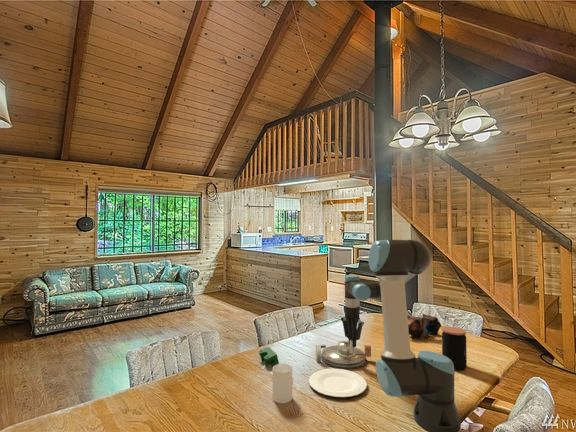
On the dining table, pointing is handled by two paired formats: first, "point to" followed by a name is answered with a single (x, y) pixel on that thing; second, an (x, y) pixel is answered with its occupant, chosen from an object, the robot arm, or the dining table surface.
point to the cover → (344, 350)
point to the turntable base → (319, 358)
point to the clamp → (268, 356)
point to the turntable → (359, 357)
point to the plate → (337, 383)
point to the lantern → (423, 326)
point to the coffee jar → (455, 346)
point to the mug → (282, 383)
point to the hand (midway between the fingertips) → (352, 352)
